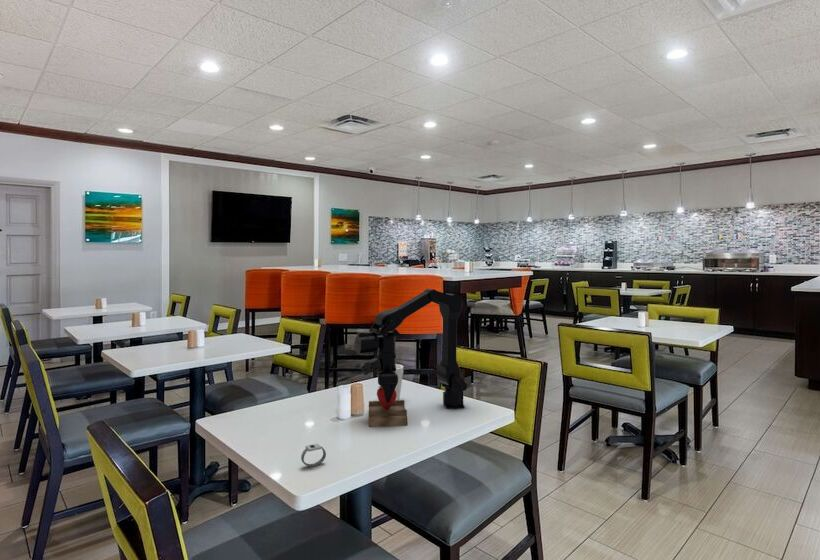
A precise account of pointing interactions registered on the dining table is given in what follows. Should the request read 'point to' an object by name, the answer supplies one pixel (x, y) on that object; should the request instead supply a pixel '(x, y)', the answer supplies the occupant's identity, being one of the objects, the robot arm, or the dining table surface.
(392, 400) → the strawberry
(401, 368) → the foam cup
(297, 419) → the dining table surface
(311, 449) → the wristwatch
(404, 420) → the stand
